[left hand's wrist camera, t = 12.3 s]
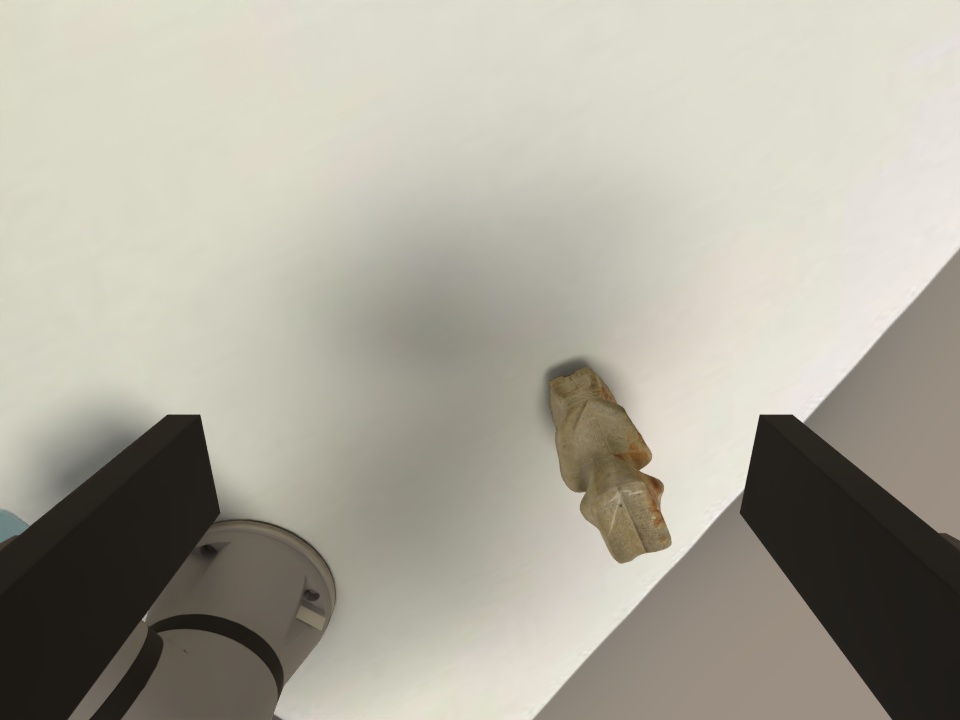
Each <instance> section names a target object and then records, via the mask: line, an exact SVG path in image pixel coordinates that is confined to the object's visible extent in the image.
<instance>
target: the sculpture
mask: <svg viewBox="0 0 960 720" xmlns="http://www.w3.org/2000/svg"><path fill="white" fill-rule="evenodd" d="M549 387H550V406H551V412H552V417H553V421H554V424H555V427H556V430H557V431H556V434H555V442H556V448H557V453H558V457H559V464H560V472H561V476H562V478H563V481H564V482H565V484H566V485H567V486H568V488H569V489H571V490H572V491H574V492H586V493H585V495H584V497H583V499H582V501H581V504H580V511H581V513H582V515H583V516H584V518H585V519H586V520H587V521H589V522H590V523H592V524H593V525H594V526H595V527H597V528H598V529H599V531H600V533H601V535H602V537H603V539H604V541H605V543H606V546H607V548H608V550H609V552H610V553H611V555H612V557H613V558H614V559H615V560H616V561H617V562H619V563H625V562H630V561H632V560H633V559H635V558H636V557H637V556H639V555H641V554H644V553H650V552H657V551H660V550H664V549H666V548H668V547H669V546H671V543H672V542H671V536H670V534H669V531H668V528H667V526H666V523H665V521H664V518H663V516H662V513H661V510H660V501H661V496H662V494H663V491H664V485H663V483H662V482H661V481H660V480H659V479H656V478H654V477H652V476H649V475H647V474H644V473H642V472H640V471H639V470H640V469H642V468H643V467H645V466H646V465H647V464H648V463H649V462H650V461H651V459H652V453H651V451H650V449H649V448H648V446H647V445H646V443H645V442H644V440H643V438H642V436H641V434H640V433H639V432H638V430H637V429H636V427H635V426H634V424H633V423H632V421H631V419H630V418H629V417H628V415H627V413H626V411H625V409H624V408H623V407H622V406H620V405H618V404H617V402H616V400H615V398H614V396H613V394H612V393H611V391H610V390H609V388H608V387H607V386H606V385H605V383H604V382H603V381H602V380H601V378H600V377H599V376H598V375H597V374H596V373H594V372H593V371H592V369H591V368H589V367H585V368H581V369H578V370H576V371H575V372H574V374H573V375H570V376H567V377H563V376H559V377H557V378H555V379H553V380H551V381H549Z"/></svg>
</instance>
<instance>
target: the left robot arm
mask: <svg viewBox="0 0 960 720" xmlns="http://www.w3.org/2000/svg"><path fill="white" fill-rule="evenodd" d="M219 514H220V509H219V504H218V499H217V495H216V490H215V485H214V480H213V475H212V470H211V465H210V460H209V455H208V450H207V445H206V440H205V436H204V431H203V426H202V421H201V416H200V415H167V416H165V417H164V418H163V419H162V420H160V421H159V422H158V423H157V424H155V425H154V426H153V427H152V428H151V429H149V430H148V431H147V432H146V433H144V434H143V435H142V436H141V437H139V438H138V439H137V440H136V441H135V442H133V443H132V444H131V445H130V446H128V447H127V448H126V449H125V450H123V451H122V452H121V453H120V454H119V455H117V456H116V457H115V458H114V459H112V460H111V461H110V462H109V463H107V464H106V465H105V466H104V467H103V468H101V469H100V470H99V471H98V472H96V473H95V474H94V475H93V476H91V477H90V478H89V479H88V480H87V481H85V482H84V483H83V484H82V485H80V486H79V487H78V488H77V489H75V490H74V491H73V492H72V493H71V494H69V495H68V496H67V497H66V498H64V499H63V500H62V501H61V502H59V503H58V504H57V505H56V506H55V507H53V508H52V509H51V510H50V511H48V512H47V513H46V514H45V515H43V516H42V517H41V518H40V519H38V520H37V521H36V522H35V523H34V524H32V525H31V526H29V525H28V524H27V523H25V522H24V521H23V520H21V519H20V518H19V517H17V516H16V515H15V514H13V513H11V512H9V511H7V510H4V509H0V720H271V719H272V716H273V714H274V711H275V708H276V705H277V702H278V700H279V697H280V694H281V692H282V689H283V687H284V685H285V684H286V683H287V681H288V680H289V679H290V678H291V676H292V675H293V674H294V672H295V671H296V670H297V669H298V667H299V666H300V665H301V664H302V662H303V661H304V660H305V659H306V657H307V656H308V655H309V654H310V652H311V651H312V650H313V649H314V647H315V646H316V645H317V643H318V642H319V641H320V639H321V637H322V635H323V634H324V632H325V630H326V628H327V626H328V623H329V621H330V618H331V615H332V612H333V608H334V604H335V587H334V583H333V579H332V576H331V574H330V571H329V570H328V568H327V566H326V564H325V563H324V561H323V560H322V559H321V557H320V556H319V555H318V554H317V553H316V552H315V551H314V550H313V549H312V548H311V547H310V546H309V545H308V544H306V543H305V542H304V541H302V540H301V539H299V538H298V537H296V536H294V535H293V534H291V533H289V532H287V531H285V530H282V529H280V528H277V527H275V526H271V525H268V524H264V523H259V522H253V521H225V522H220V523H215V524H213V522H214V521H215V519H216V518H217V517H218V515H219ZM740 514H741V515H742V517H743V518H744V519H745V521H746V522H747V524H748V525H749V526H750V528H751V529H752V530H753V532H754V533H755V534H756V536H757V537H758V538H759V540H760V541H761V542H762V544H763V545H764V547H765V548H766V549H767V551H768V552H769V553H770V555H771V556H772V557H773V559H774V560H775V561H776V563H777V564H778V566H779V567H780V568H781V570H782V571H783V572H784V574H785V575H786V576H787V578H788V579H789V580H790V582H791V583H792V584H793V586H794V587H795V589H796V590H797V591H798V593H799V594H800V595H801V597H802V598H803V599H804V601H805V602H806V603H807V605H808V606H809V608H810V609H811V610H812V612H813V613H814V614H815V616H816V617H817V618H818V620H819V621H820V622H821V624H822V625H823V626H824V628H825V629H826V631H827V632H828V633H829V635H830V636H831V637H832V639H833V640H834V641H835V643H836V644H837V645H838V647H839V648H840V650H841V651H842V652H843V654H844V655H845V656H846V658H847V659H848V660H849V662H850V663H851V664H852V666H853V667H854V668H855V670H856V671H857V673H858V674H859V675H860V677H861V678H862V679H863V681H864V682H865V683H866V685H867V686H868V687H869V689H870V690H871V692H872V693H873V694H874V696H875V697H876V698H877V700H878V701H879V702H880V704H881V705H882V706H883V708H884V709H885V711H886V712H887V713H888V715H889V716H890V717H891V719H892V720H960V541H959V540H957V539H956V538H954V537H952V536H950V535H948V534H946V533H938V532H936V531H935V530H934V529H933V528H931V527H930V526H929V525H928V524H926V523H925V522H924V521H923V520H922V519H920V518H919V517H918V516H917V515H915V514H914V513H913V512H912V511H910V510H909V509H908V508H907V507H905V506H904V505H903V504H902V503H901V502H899V501H898V500H897V499H896V498H894V497H893V496H892V495H891V494H889V493H888V492H887V491H886V490H884V489H883V488H882V487H881V486H880V485H878V484H877V483H876V482H875V481H873V480H872V479H871V478H870V477H868V476H867V475H866V474H865V473H864V472H862V471H861V470H860V469H859V468H857V467H856V466H855V465H854V464H853V463H851V462H850V461H849V460H848V459H846V458H845V457H844V456H843V455H841V454H840V453H839V452H838V451H837V450H835V449H834V448H833V447H832V446H830V445H829V444H828V443H827V442H825V441H824V440H823V439H822V438H821V437H819V436H818V435H817V434H815V433H814V432H813V431H812V430H811V429H809V428H808V427H807V426H806V425H805V424H803V423H802V422H801V421H800V420H798V419H797V418H796V417H795V416H793V415H760V416H759V421H758V426H757V431H756V436H755V440H754V445H753V450H752V455H751V460H750V465H749V470H748V475H747V480H746V485H745V490H744V495H743V499H742V504H741V510H740ZM148 610H149V611H148ZM147 612H148V615H147V618H146V621H145V622H143V621H142V618H143V617H144V616H145V614H146V613H147Z"/></svg>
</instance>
